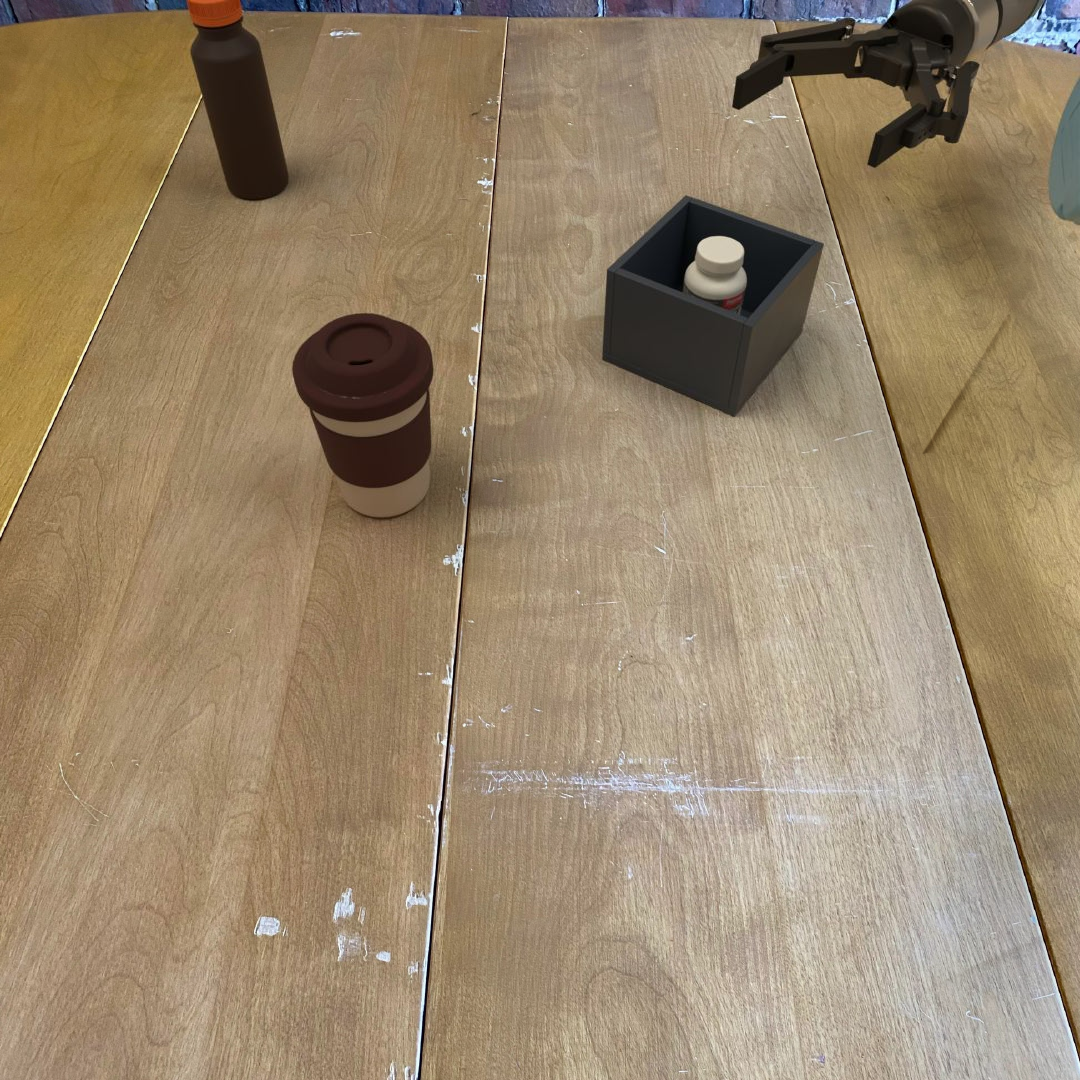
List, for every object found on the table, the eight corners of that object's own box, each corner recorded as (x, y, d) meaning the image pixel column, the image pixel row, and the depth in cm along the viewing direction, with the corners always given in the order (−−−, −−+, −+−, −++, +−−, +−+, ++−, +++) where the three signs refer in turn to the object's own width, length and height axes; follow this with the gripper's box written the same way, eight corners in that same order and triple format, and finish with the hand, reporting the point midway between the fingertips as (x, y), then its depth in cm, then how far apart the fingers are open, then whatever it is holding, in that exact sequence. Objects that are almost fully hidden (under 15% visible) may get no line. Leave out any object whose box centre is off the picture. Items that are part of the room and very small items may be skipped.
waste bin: (801, 333, 93) (824, 243, 85) (734, 417, 86) (752, 326, 78) (674, 284, 98) (685, 194, 90) (601, 359, 91) (606, 269, 83)
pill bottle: (725, 365, 89) (742, 273, 81) (668, 350, 90) (679, 258, 82) (742, 330, 92) (759, 238, 84) (687, 316, 93) (699, 224, 86)
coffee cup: (367, 429, 85) (338, 284, 73) (468, 465, 82) (455, 320, 71) (300, 508, 79) (258, 364, 68) (407, 549, 77) (381, 406, 65)
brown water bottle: (286, 163, 112) (244, -26, 97) (293, 195, 108) (250, 2, 93) (225, 172, 111) (173, -18, 96) (230, 205, 107) (176, 11, 91)
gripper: (1048, 120, 89) (924, 220, 79) (814, 35, 100) (681, 112, 90) (1082, 35, 83) (954, 131, 73) (830, -47, 94) (690, 28, 84)
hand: (803, 121), depth 82 cm, fingers open, 13 cm apart
